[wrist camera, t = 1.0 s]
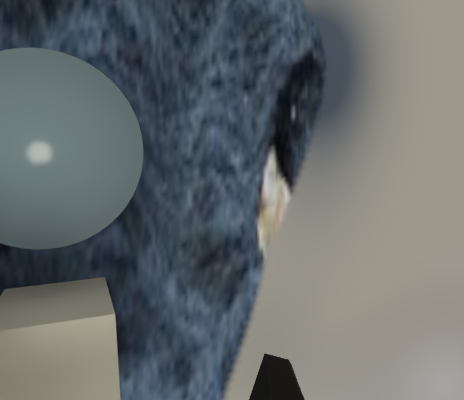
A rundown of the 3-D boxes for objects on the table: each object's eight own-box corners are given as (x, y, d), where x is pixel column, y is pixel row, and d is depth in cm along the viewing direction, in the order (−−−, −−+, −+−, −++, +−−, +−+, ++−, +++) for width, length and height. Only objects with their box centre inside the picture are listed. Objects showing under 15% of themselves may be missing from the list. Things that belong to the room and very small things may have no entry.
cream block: (110, 363, 22) (122, 429, 16) (12, 381, 20) (-13, 461, 15) (104, 277, 21) (115, 313, 16) (4, 289, 20) (-24, 334, 14)
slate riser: (55, 270, 21) (52, 288, 18) (-95, 157, 18) (-132, 153, 15) (164, 150, 22) (180, 147, 19) (38, 31, 20) (31, 4, 17)
